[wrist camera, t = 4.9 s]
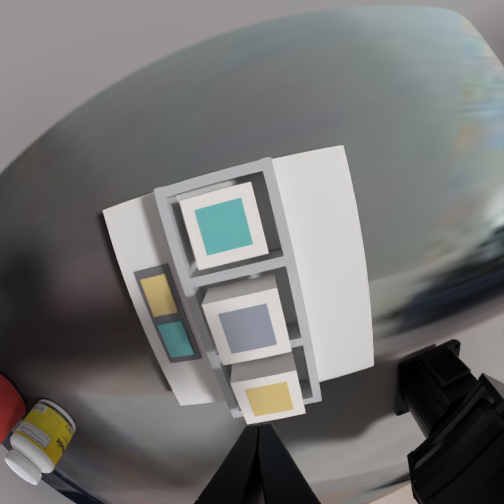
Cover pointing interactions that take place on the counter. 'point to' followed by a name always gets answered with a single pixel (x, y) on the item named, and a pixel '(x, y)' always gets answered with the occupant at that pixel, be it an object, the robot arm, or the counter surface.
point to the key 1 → (224, 226)
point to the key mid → (247, 320)
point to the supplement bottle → (40, 441)
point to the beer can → (9, 407)
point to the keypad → (253, 272)
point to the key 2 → (267, 388)
